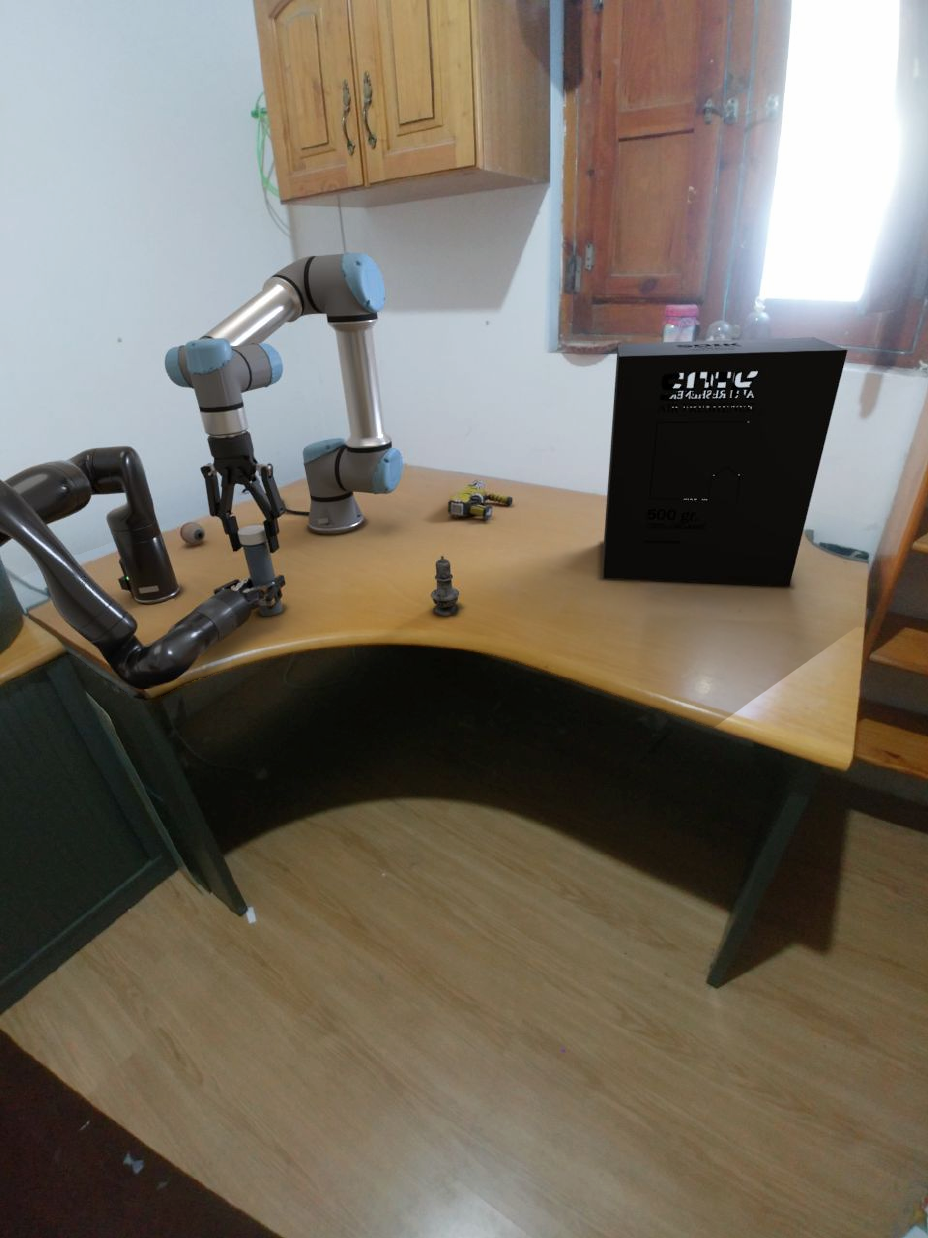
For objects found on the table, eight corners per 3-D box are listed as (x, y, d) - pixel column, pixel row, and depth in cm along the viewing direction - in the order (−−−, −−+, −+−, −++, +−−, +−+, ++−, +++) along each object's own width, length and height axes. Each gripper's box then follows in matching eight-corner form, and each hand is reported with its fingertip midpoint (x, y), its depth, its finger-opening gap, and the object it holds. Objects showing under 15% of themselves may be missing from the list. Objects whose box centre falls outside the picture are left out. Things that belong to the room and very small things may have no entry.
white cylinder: (236, 545, 117) (233, 535, 116) (245, 535, 122) (243, 525, 121) (262, 544, 117) (260, 534, 116) (271, 534, 122) (269, 524, 120)
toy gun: (520, 484, 182) (474, 477, 186) (498, 508, 162) (446, 499, 166) (519, 500, 184) (473, 492, 188) (497, 524, 164) (445, 516, 168)
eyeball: (193, 549, 159) (187, 528, 156) (179, 545, 162) (172, 524, 159) (212, 541, 163) (206, 520, 160) (198, 538, 166) (191, 517, 163)
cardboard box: (767, 547, 142) (813, 337, 119) (789, 586, 125) (847, 349, 102) (603, 542, 149) (617, 343, 127) (603, 578, 132) (618, 356, 110)
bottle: (268, 604, 130) (249, 528, 121) (287, 606, 129) (269, 529, 120) (254, 614, 126) (234, 537, 117) (274, 617, 125) (255, 539, 116)
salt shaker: (457, 617, 121) (453, 562, 115) (428, 615, 122) (423, 561, 116) (463, 603, 126) (459, 550, 120) (435, 601, 127) (431, 549, 121)
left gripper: (246, 603, 109) (298, 564, 122) (182, 595, 113) (239, 558, 127) (255, 639, 112) (304, 597, 126) (193, 629, 117) (247, 589, 130)
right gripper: (288, 427, 110) (311, 543, 122) (190, 428, 114) (220, 540, 126) (269, 437, 104) (295, 559, 115) (165, 438, 108) (200, 555, 119)
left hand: (271, 577), depth 126 cm, fingers closed on bottle, 5 cm apart
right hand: (256, 549), depth 120 cm, fingers open, 7 cm apart
